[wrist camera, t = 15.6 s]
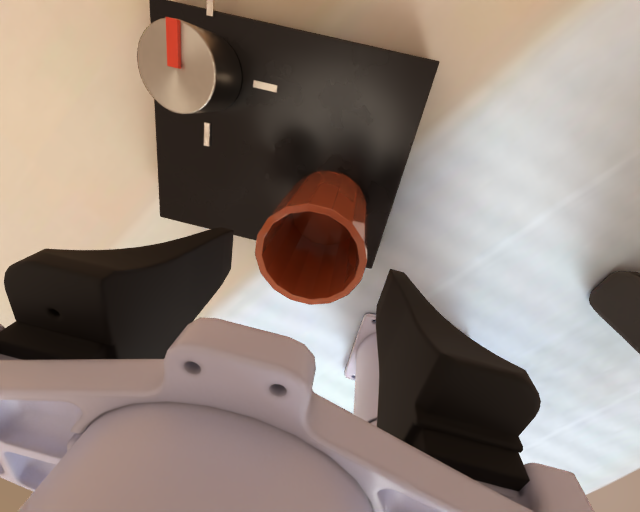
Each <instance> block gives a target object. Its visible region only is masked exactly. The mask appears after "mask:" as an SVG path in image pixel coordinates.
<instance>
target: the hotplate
mask: <svg viewBox="0 0 640 512" xmlns="http://www.w3.org/2000/svg"><path fill="white" fill-rule="evenodd" d="M166 17H170V18H176V19H179V20H182V21H185V22H187V23H190V24H192V25H195V26H197V27H200V28H202V29H205V30H207V31H210V32H212V33H215V34H217V35H219V36H220V37H222V38H223V39H224V40H225V41H227V42H228V44H229V45H230V46H231V47H232V49H233V50H234V52H235V53H236V55H237V58H238V60H239V63H240V67H241V74H242V82H241V88H240V91H239V94H238V96H237V98H236V99H235V101H234V102H233V103H232V104H231V105H230V106H229V107H227V108H225V109H223V110H220V111H213V112H204V113H194V114H179V113H175V112H172V111H170V110H168V109H166V108H165V107H163V106H162V105H161V104H159V103H158V102H157V101H156V100H155V99H154V100H155V120H156V140H157V160H158V180H159V200H160V216H161V217H164V218H168V219H172V220H176V221H180V222H184V223H188V224H192V225H196V226H200V227H204V228H208V229H214V228H219V227H222V228H226V229H230V230H234V233H233V235H237V236H241V237H245V238H249V239H253V240H257V235H258V233H259V231H260V230H261V228H262V226H263V225H264V223H265V222H266V220H267V219H268V217H269V216H270V215H271V214H272V213H273V211H274V210H275V209H276V208H277V206H278V205H279V204H280V203H281V202H282V200H283V199H284V198H285V197H286V196H287V194H288V193H289V192H290V191H291V190H292V188H293V187H294V186H295V185H296V184H297V183H298V182H299V181H300V180H301V179H303V178H304V177H306V176H307V175H309V174H312V173H314V172H318V171H335V172H338V173H341V174H344V175H346V176H347V177H349V178H351V179H352V180H353V181H354V182H355V183H356V184H357V185H358V186H359V187H360V189H361V190H362V192H363V194H364V196H365V199H366V204H367V213H368V228H367V264H366V268H370V269H371V268H372V266H373V263H374V260H375V257H376V254H377V251H378V247H379V244H380V241H381V238H382V235H383V232H384V229H385V226H386V223H387V220H388V217H389V214H390V211H391V208H392V205H393V202H394V199H395V196H396V193H397V190H398V187H399V184H400V181H401V178H402V175H403V171H404V168H405V165H406V162H407V159H408V156H409V153H410V150H411V147H412V144H413V141H414V138H415V135H416V132H417V129H418V126H419V123H420V120H421V117H422V114H423V111H424V108H425V105H426V102H427V99H428V95H429V92H430V89H431V86H432V83H433V80H434V77H435V74H436V71H437V68H438V65H439V61H436V60H431V59H427V58H422V57H418V56H413V55H409V54H404V53H400V52H396V51H391V50H387V49H382V48H378V47H373V46H369V45H364V44H360V43H356V42H351V41H347V40H342V39H338V38H333V37H329V36H325V35H320V34H316V33H311V32H307V31H302V30H298V29H293V28H289V27H285V26H280V25H276V24H271V23H267V22H262V21H258V20H253V19H249V18H245V17H240V16H236V15H231V14H227V13H222V12H218V11H214V0H207V9H205V8H200V7H196V6H191V5H187V4H182V3H178V2H174V1H169V0H150V19H151V23H153V22H155V21H156V20H159V19H162V18H166Z"/></svg>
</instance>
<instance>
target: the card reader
mask: <svg viewBox="0 0 640 512" xmlns="http://www.w3.org/2000/svg"><path fill="white" fill-rule="evenodd" d="M589 301H590V305H591V306H592V307H593V309H594V310H595V311H596V312H597V313H598V314H599V315H600V316H601V317H602V318H603V319H604V320H605V321H606V322H607V323H608V324H609V325H610V326H611V327H612V328H613V329H614V330H615V331H616V332H618V333H619V334H620V335H621V336H622V337H623V338H624V339H625V340H626V341H627V342H628V343H629V344H630V345H631V346H632V347H633V348H634V349H635V350H636V351H637V352H638V353H639V354H640V273H638V272H622V271H618V272H614V273H612V274H610V275H609V276H608V277H607V278H606V279H605V280H604V281H603V282H601V283H600V284H599V285H598V286H597V287H596V288H595V289H594V290H593V291H592V292H591V294H590V297H589Z"/></svg>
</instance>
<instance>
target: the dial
mask: <svg viewBox="0 0 640 512" xmlns="http://www.w3.org/2000/svg"><path fill="white" fill-rule="evenodd" d="M137 61H138V68H139V72H140V75H141V78H142V80H143V83H144V85H145V86H146V88H147V90H148V91H149V93H150V94H151V95H152V97H153V98H154V99H155V100H156V101H157V102H158V103H159V104H161V105H162V106H163V107H165V108H166V109H168V110H170V111H172V112H175V113H179V114H194V113H204V112H213V111H220V110H223V109H225V108H227V107H229V106H230V105H231V104H232V103H233V102H234V101H235V99H236V98H237V96H238V94H239V91H240V88H241V82H242V74H241V67H240V63H239V60H238V58H237V55H236V53H235V52H234V50H233V49H232V47H231V46H230V45H229V44H228V42H227V41H225V40H224V39H223V38H222V37H220V36H219V35H217V34H215V33H212V32H210V31H207V30H205V29H202V28H200V27H197V26H195V25H192V24H190V23H187V22H185V21H182V20H179V19H176V18H170V17H166V18H162V19H159V20H156V21H155V22H153V23H151V24H150V25H149V26H148V27H147V28H146V29H145V31H144V32H143V34H142V36H141V38H140V41H139V45H138V51H137Z"/></svg>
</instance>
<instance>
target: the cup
mask: <svg viewBox="0 0 640 512" xmlns="http://www.w3.org/2000/svg"><path fill="white" fill-rule="evenodd" d="M367 228H368V213H367V204H366V199H365V196H364V194H363V192H362V190H361V189H360V187H359V186H358V185H357V184H356V183H355V182H354V181H353V180H352V179H351V178H349V177H347V176H346V175H344V174H341V173H338V172H335V171H318V172H314V173H312V174H309V175H307V176H306V177H304V178H303V179H301V180H300V181H299V182H298V183H297V184H296V185H295V186H294V187H293V188H292V190H291V191H290V192H289V193H288V194H287V196H286V197H285V198H284V199H283V200H282V202H281V203H280V204H279V205H278V206H277V208H276V209H275V210H274V211H273V213H272V214H271V215H270V216H269V217H268V219H267V220H266V222H265V223H264V225H263V226H262V228H261V230H260V231H259V233H258V235H257V241H256V249H255V256H256V259H257V262H258V266H259V269H260V272H261V274H262V275H263V276H264V278H265V279H266V280H267V281H268V283H269V284H270V285H271V286H272V288H274V289H275V290H276V291H278V292H279V293H281V294H282V295H284V296H286V297H287V298H289V299H291V300H294V301H298V302H302V303H306V304H311V305H312V304H325V303H331V302H334V301H336V300H338V299H340V298H342V297H345V296H347V295H348V294H349V293H350V292H351V291H352V290H353V289H354V288H355V287H356V286H357V285H358V284H359V283H360V281H361V280H362V277H363V273H364V270H365V267H366V264H367Z"/></svg>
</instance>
